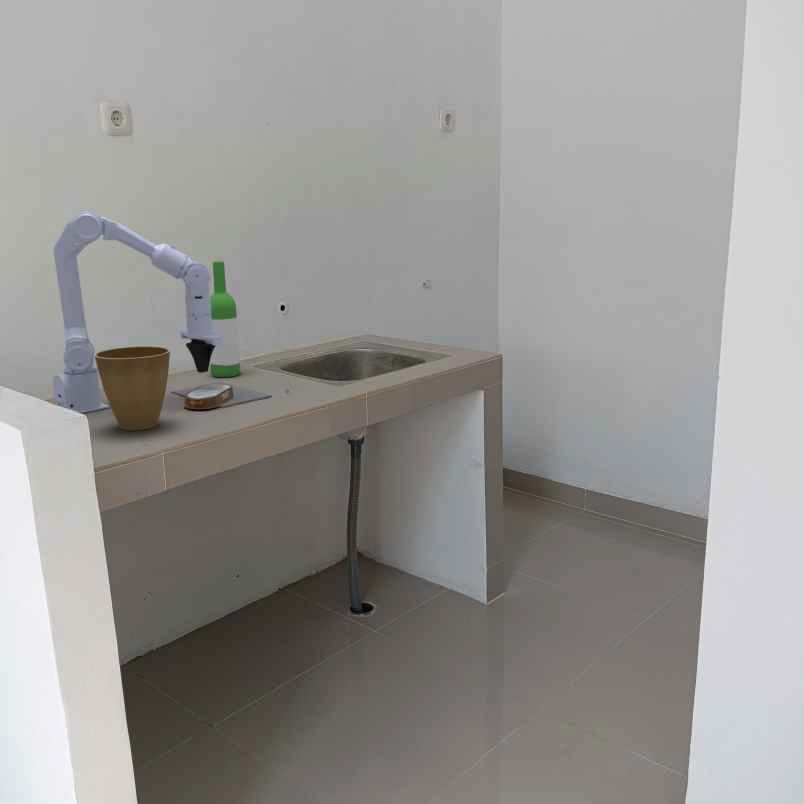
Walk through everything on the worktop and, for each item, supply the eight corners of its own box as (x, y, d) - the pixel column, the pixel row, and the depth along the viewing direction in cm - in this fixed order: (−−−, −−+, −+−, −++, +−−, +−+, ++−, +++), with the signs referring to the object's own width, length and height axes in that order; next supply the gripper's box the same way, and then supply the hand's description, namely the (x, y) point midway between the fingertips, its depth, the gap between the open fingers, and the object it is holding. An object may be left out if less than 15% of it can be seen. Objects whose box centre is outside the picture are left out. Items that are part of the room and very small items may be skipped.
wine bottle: (217, 371, 234) (209, 260, 227) (244, 372, 233) (237, 260, 225) (206, 378, 226) (198, 262, 219) (234, 378, 225) (227, 262, 218)
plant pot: (184, 429, 179) (178, 353, 175) (110, 440, 172) (103, 361, 168) (164, 413, 191) (159, 342, 188) (95, 423, 184) (87, 349, 180)
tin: (178, 408, 194) (213, 412, 192) (177, 394, 193) (213, 398, 191) (206, 393, 208) (239, 396, 207) (206, 380, 207) (239, 384, 206)
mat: (222, 407, 196) (221, 406, 195) (171, 392, 211) (170, 391, 211) (271, 396, 205) (271, 395, 205) (219, 383, 220) (219, 381, 220)
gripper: (231, 315, 198) (234, 373, 201) (196, 309, 208) (200, 365, 211) (204, 319, 193) (208, 378, 196) (170, 313, 203) (175, 369, 206)
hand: (202, 371), depth 203 cm, fingers closed
